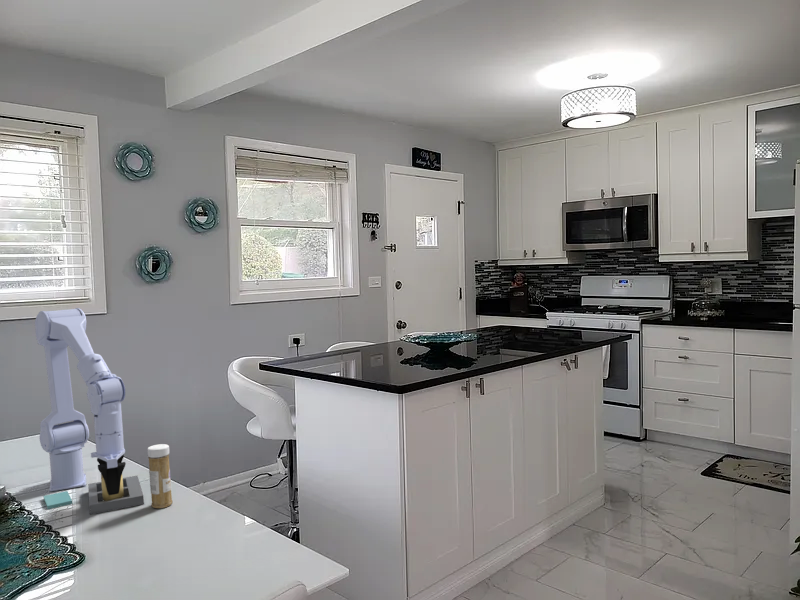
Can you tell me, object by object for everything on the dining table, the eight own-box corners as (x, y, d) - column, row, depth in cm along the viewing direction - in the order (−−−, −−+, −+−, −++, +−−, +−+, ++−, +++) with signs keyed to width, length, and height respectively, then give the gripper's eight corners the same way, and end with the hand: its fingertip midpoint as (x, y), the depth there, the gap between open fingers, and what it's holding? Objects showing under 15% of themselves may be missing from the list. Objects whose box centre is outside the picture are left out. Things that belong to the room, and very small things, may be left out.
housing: (88, 492, 154) (88, 484, 153) (137, 483, 158) (137, 475, 158) (89, 514, 139) (89, 505, 139) (143, 504, 144) (143, 495, 144)
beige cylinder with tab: (102, 496, 146) (100, 470, 146) (123, 492, 148) (121, 467, 148) (103, 502, 142) (101, 476, 142) (124, 498, 144) (122, 472, 144)
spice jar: (174, 505, 142) (171, 446, 142) (153, 510, 140) (149, 450, 139) (169, 499, 146) (166, 442, 145) (148, 504, 144) (145, 445, 143)
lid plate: (43, 499, 150) (43, 496, 150) (67, 494, 153) (67, 490, 153) (47, 509, 143) (47, 506, 143) (72, 503, 146) (72, 500, 146)
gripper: (88, 427, 149) (92, 484, 150) (89, 442, 136) (94, 504, 137) (121, 423, 152) (125, 478, 153) (125, 436, 139) (129, 497, 140)
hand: (113, 490), depth 145 cm, fingers closed on beige cylinder with tab, 4 cm apart
